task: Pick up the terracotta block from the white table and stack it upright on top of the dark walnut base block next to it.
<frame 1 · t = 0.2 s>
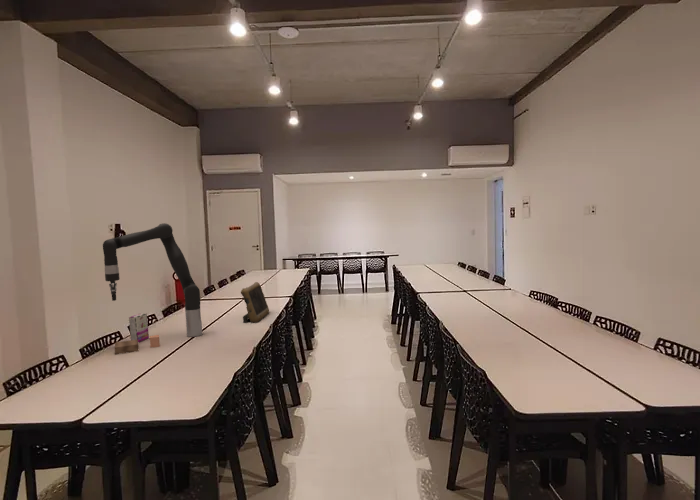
hand: (114, 299, 269), 29 cm above the table, tool pointing down, fingers open, 8 cm apart
tablet: (256, 318, 334), on the table
walnut base: (127, 350, 262), on the table
terracotta block: (155, 346, 268), on the table
candy bar box: (140, 340, 282), on the table
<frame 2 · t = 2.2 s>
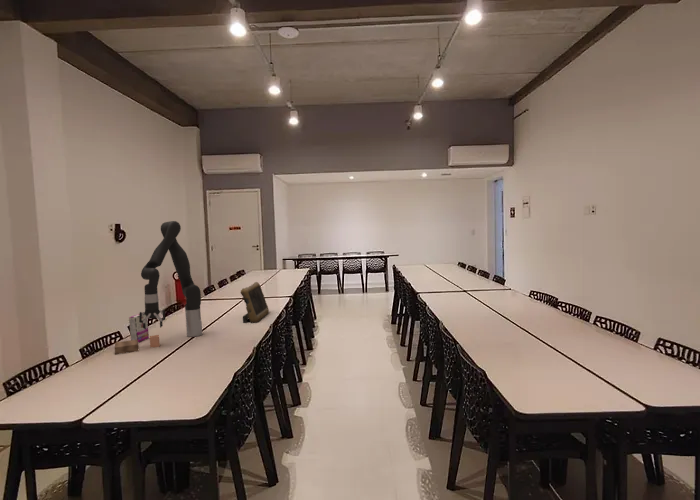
hand: (152, 328, 267), 11 cm above the table, tool pointing down, fingers open, 8 cm apart
nothing on the table moved.
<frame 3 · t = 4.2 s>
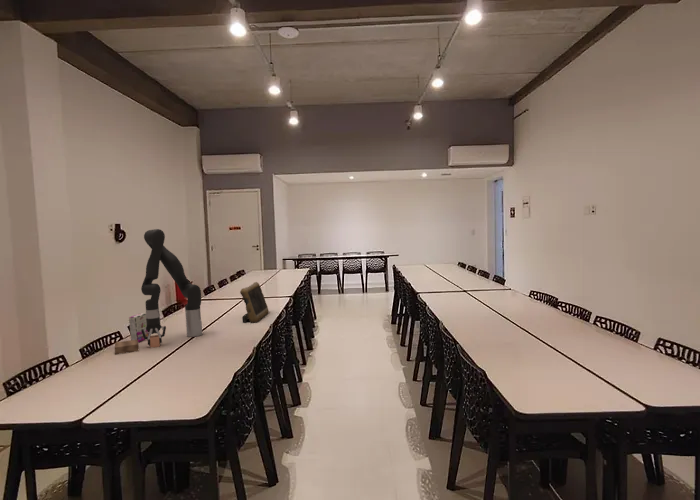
hand: (154, 344, 268), 1 cm above the table, tool pointing down, fingers closed on terracotta block, 5 cm apart
terracotta block: (155, 346, 268), on the table, touching gripper
everything else where it was.
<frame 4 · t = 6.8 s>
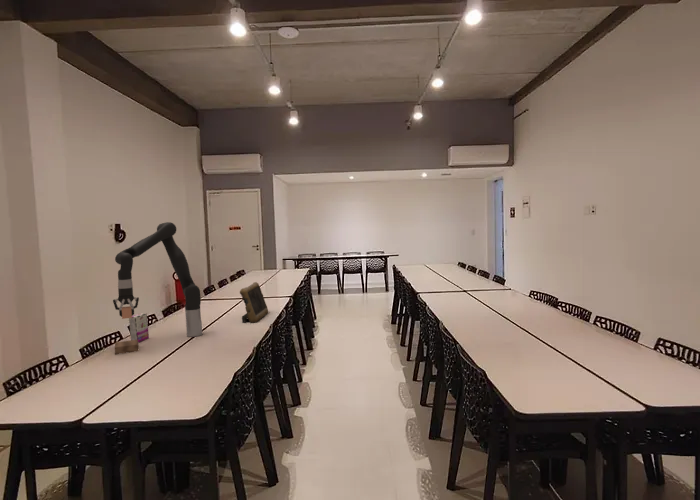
hand: (126, 315, 261), 20 cm above the table, tool pointing down, fingers closed on terracotta block, 5 cm apart
terracotta block: (127, 317, 261), point 19 cm above the table, touching gripper
everything else where it was.
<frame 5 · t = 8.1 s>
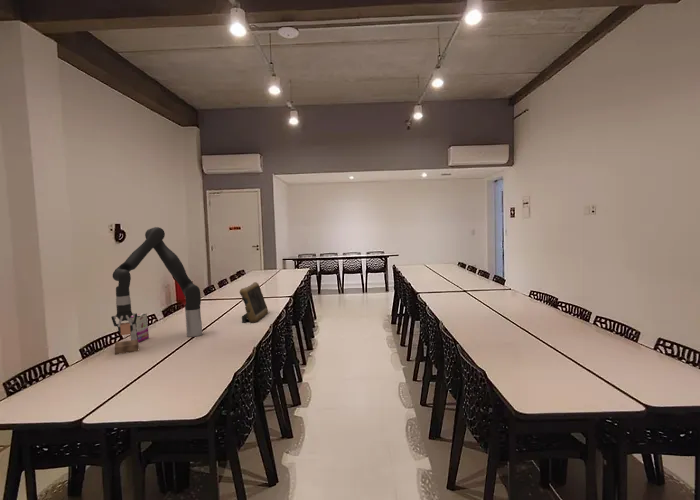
hand: (125, 332, 261), 11 cm above the table, tool pointing down, fingers closed on terracotta block, 5 cm apart
terracotta block: (125, 333, 261), point 10 cm above the table, touching gripper
everything else where it was.
when the fingers open (6 cm above the table, at t = 9.4 s): terracotta block drops 1 cm, resting on walnut base.
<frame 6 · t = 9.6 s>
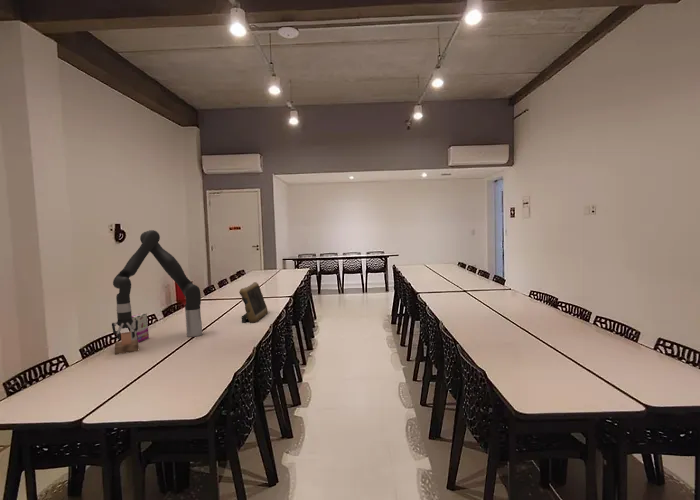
hand: (126, 338, 261), 7 cm above the table, tool pointing down, fingers open, 6 cm apart
terracotta block: (126, 343, 261), point 4 cm above the table, touching walnut base
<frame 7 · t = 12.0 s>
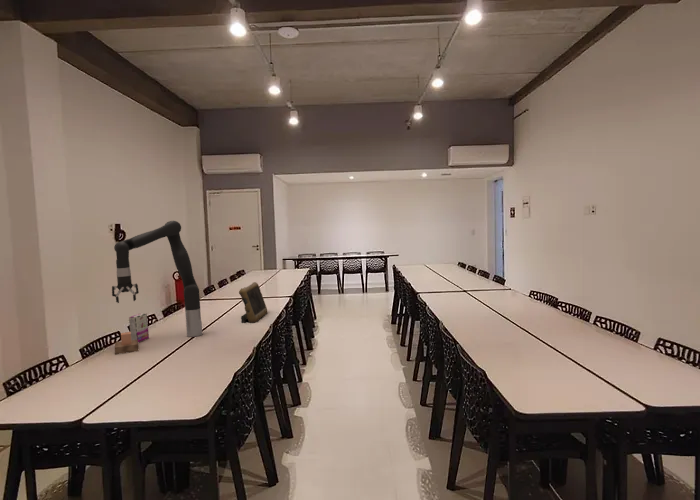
hand: (126, 302, 269), 27 cm above the table, tool pointing down, fingers open, 8 cm apart
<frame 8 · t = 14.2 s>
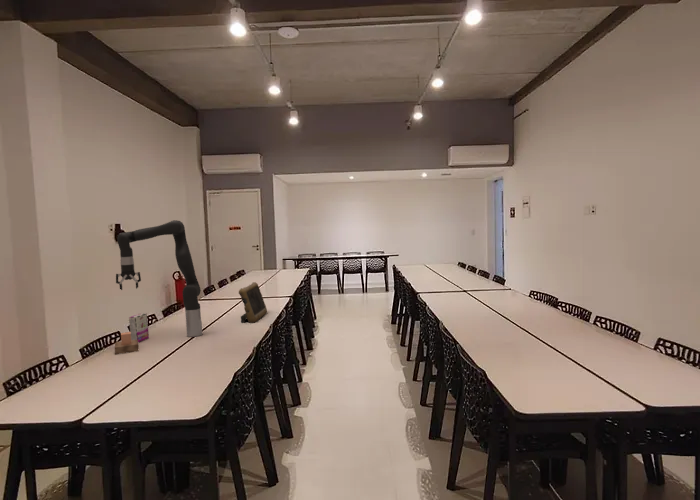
hand: (129, 289, 285), 32 cm above the table, tool pointing down, fingers open, 8 cm apart
at the end: terracotta block 0.0 cm off-centre on the walnut base, point 4.0 cm above the walnut base's base; terracotta block tilted 0°; the gripper is holding nothing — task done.
